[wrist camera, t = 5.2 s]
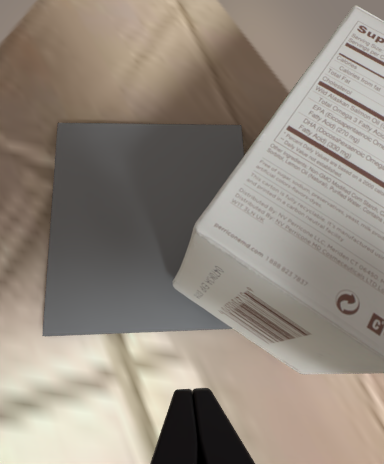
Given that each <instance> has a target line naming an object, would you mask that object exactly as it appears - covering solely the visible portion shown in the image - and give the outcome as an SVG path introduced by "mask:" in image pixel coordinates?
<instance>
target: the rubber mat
mask: <svg viewBox="0 0 384 464" xmlns="http://www.w3.org/2000/svg"><path fill="white" fill-rule="evenodd" d="M243 157H244V150H243V139H242V128H241V125H194V124H112V123H58V128H57V142H56V156H55V170H54V184H53V197H52V211H51V225H50V239H49V253H48V267H47V281H46V295H45V309H44V323H43V336H65V335H90V334H114V333H139V332H164V331H188V330H213V329H233V328H231V327H230V326H228V325H227V324H225V323H224V322H222V321H221V320H219V319H218V318H217V317H215V316H214V315H212V314H211V313H209V312H208V311H206V310H205V309H204V308H202V307H201V306H199V305H198V304H196V303H195V302H193V301H192V300H190V299H189V298H187V297H186V296H185V295H183V294H182V293H180V292H179V291H178V290H176V289H175V288H174V287H173V282H172V281H173V279H174V278H175V276H176V275H177V273H178V271H179V269H180V267H181V264H182V262H183V259H184V257H185V254H186V251H187V248H188V245H189V242H190V239H191V235H192V232H193V228H194V225H195V223H196V221H197V220H198V219H199V217H200V216H201V215H202V213H203V212H204V211H205V209H206V208H207V207H208V205H209V204H210V203H211V201H212V200H213V198H214V197H215V196H216V194H217V193H218V191H219V190H220V189H221V187H222V186H223V184H224V183H225V182H226V180H227V179H228V177H229V176H230V175H231V173H232V172H233V171H234V169H235V168H236V166H237V165H238V164H239V162H240V161H241V159H242V158H243Z"/></svg>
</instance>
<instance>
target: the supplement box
mask: <svg viewBox="0 0 384 464" xmlns="http://www.w3.org/2000/svg"><path fill="white" fill-rule="evenodd" d="M172 282H173V287H174V288H175V289H176V290H178V291H179V292H180V293H182V294H183V295H185V296H186V297H187V298H189V299H190V300H192V301H193V302H195V303H196V304H198V305H199V306H201V307H202V308H204V309H205V310H206V311H208V312H209V313H211V314H212V315H214V316H215V317H217V318H218V319H219V320H221V321H222V322H224V323H225V324H227V325H228V326H230V327H231V328H233V329H234V330H236V331H237V332H239V333H240V334H242V335H243V336H244V337H246V338H247V339H249V340H250V341H252V342H253V343H255V344H256V345H258V346H259V347H261V348H262V349H264V350H265V351H267V352H268V353H270V354H271V355H272V356H274V357H275V358H277V359H278V360H280V361H281V362H283V363H285V364H286V365H287V366H289V367H290V368H292V369H294V370H295V371H297V372H298V373H301V374H365V373H384V21H383V20H381V19H379V18H377V17H376V16H374V15H372V14H370V13H368V12H367V11H365V10H363V9H362V8H360V7H358V6H353V8H352V9H351V11H350V12H349V13H348V15H347V16H346V17H345V19H344V20H343V21H342V23H341V24H340V26H339V27H338V28H337V30H336V31H335V32H334V34H333V35H332V36H331V38H330V39H329V41H328V42H327V43H326V45H325V46H324V47H323V49H322V50H321V52H320V53H319V54H318V56H317V57H316V58H315V59H314V61H313V62H312V63H311V65H310V66H309V67H308V69H307V70H306V71H305V73H304V74H303V75H302V77H301V78H300V79H299V81H298V82H297V83H296V85H295V86H294V87H293V89H292V90H291V92H290V93H289V94H288V96H287V97H286V98H285V100H284V101H283V103H282V104H281V105H280V107H279V108H278V109H277V111H276V112H275V114H274V115H273V116H272V118H271V119H270V121H269V122H268V123H267V125H266V126H265V127H264V129H263V130H262V132H261V133H260V134H259V136H258V137H257V138H256V140H255V141H254V143H253V144H252V145H251V147H250V148H249V150H248V151H247V152H246V154H245V155H244V157H243V158H242V159H241V161H240V162H239V164H238V165H237V166H236V168H235V169H234V171H233V172H232V173H231V175H230V176H229V177H228V179H227V180H226V182H225V183H224V184H223V186H222V187H221V189H220V190H219V191H218V193H217V194H216V196H215V197H214V198H213V200H212V201H211V203H210V204H209V205H208V207H207V208H206V209H205V211H204V212H203V213H202V215H201V216H200V217H199V219H198V220H197V221H196V223H195V225H194V228H193V232H192V235H191V239H190V242H189V245H188V248H187V251H186V254H185V257H184V259H183V262H182V264H181V267H180V269H179V271H178V273H177V275H176V276H175V278H174V279H173V281H172Z"/></svg>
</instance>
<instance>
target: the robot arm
mask: <svg viewBox="0 0 384 464" xmlns="http://www.w3.org/2000/svg"><path fill="white" fill-rule="evenodd" d="M150 464H255V463H254V461H253V459H252V458H251V456H250V454H249V453H248V451H247V449H246V448H245V446H244V444H243V443H242V441H241V439H240V438H239V436H238V435H237V433H236V431H235V430H234V428H233V426H232V425H231V423H230V421H229V420H228V418H227V416H226V415H225V413H224V411H223V410H222V408H221V406H220V405H219V403H218V401H217V400H216V398H215V396H214V395H213V393H212V391H211V390H210V389H208V388H198V389H194V390H193V391H192V390H190V389H178V390H175V392H174V394H173V397H172V400H171V403H170V406H169V409H168V412H167V415H166V418H165V421H164V424H163V427H162V430H161V433H160V436H159V439H158V442H157V445H156V448H155V451H154V454H153V457H152V460H151V463H150Z"/></svg>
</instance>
